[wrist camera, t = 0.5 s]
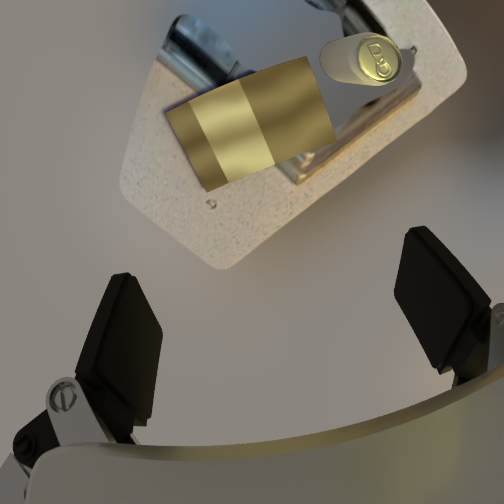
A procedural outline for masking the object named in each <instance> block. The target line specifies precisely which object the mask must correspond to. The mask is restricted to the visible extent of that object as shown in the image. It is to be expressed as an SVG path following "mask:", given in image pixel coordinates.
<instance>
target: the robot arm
mask: <svg viewBox="0 0 504 504" xmlns="http://www.w3.org/2000/svg"><path fill="white" fill-rule="evenodd" d="M394 296H395V299H396V301H397V302H398V304H399V306H400V308H401V309H402V311H403V313H404V315H405V316H406V318H407V320H408V322H409V323H410V325H411V327H412V329H413V330H414V333H415V334H416V336H417V338H418V340H419V342H420V344H421V346H422V348H423V349H424V351H425V353H426V355H427V357H428V359H429V361H430V363H431V365H432V367H433V368H437V370H438V373H439V374H440V375H441V374H443V373H445V372H448V371H450V370H452V369H453V371H454V373H455V375H454V380H453V384H452V388H451V390H448V391H446V392H444V393H442V394H439V395H437V396H435V397H432V398H430V399H428V400H425V401H423V402H420V403H418V404H415V405H412V406H409V407H407V408H404V409H401V410H398V411H395V412H392V413H389V414H386V415H384V416H380V417H377V418H374V419H370V420H367V421H363V422H360V423H356V424H353V425H349V426H345V427H341V428H337V429H333V430H328V431H324V432H319V433H315V434H309V435H304V436H299V437H292V438H286V439H279V440H273V441H265V442H256V443H246V444H235V445H218V446H150V445H148V446H147V445H140V443H139V442H138V440H137V439H136V437H135V436H134V434H133V426H146V425H147V419H149V418H150V417H151V414H152V406H153V398H154V390H155V383H156V376H157V369H158V363H159V356H160V350H161V344H162V338H163V333H162V329H161V326H160V325H159V323H158V321H157V319H156V317H155V315H154V313H153V311H152V309H151V307H150V305H149V303H148V301H147V299H146V297H145V295H144V293H143V291H142V289H141V287H140V285H139V283H138V280H137V278H136V277H135V276H131V274H129V273H121V274H114V275H113V276H112V277H111V279H110V281H109V284H108V286H107V288H106V290H105V293H104V295H103V298H102V300H101V302H100V305H99V307H98V309H97V312H96V315H95V317H94V319H93V322H92V325H91V327H90V330H89V332H88V335H87V338H86V340H85V343H84V346H83V349H82V352H81V354H80V357H79V360H78V363H77V366H76V370H75V373H76V376H75V379H74V378H70V377H64V378H61V379H59V380H57V381H56V382H55V383H54V384H52V386H51V387H50V388H49V390H48V393H47V395H46V408H47V409H46V410H45V411H44V412H42V413H41V414H39V415H38V416H37V417H36V418H34V419H33V420H32V421H31V422H29V423H28V424H27V425H26V426H24V427H23V428H22V429H20V431H19V432H18V433H17V434H16V436H15V438H14V441H13V452H14V454H12V453H10V454H9V456H8V457H7V459H6V460H5V462H4V463H3V465H2V466H1V468H0V504H504V303H499V304H496V305H495V306H494V307H493V308H492V309H491V308H490V307H489V305H490V303H491V299H490V298H489V297H488V295H487V294H486V293H485V292H484V290H483V289H482V288H481V287H480V285H479V284H478V283H477V282H476V280H475V279H474V278H473V277H472V276H471V274H469V272H468V271H467V270H466V269H465V267H464V266H463V265H462V264H461V263H460V262H459V261H458V260H457V258H456V257H455V256H454V255H453V254H452V253H451V252H450V251H449V250H448V249H447V248H446V246H445V245H444V244H443V243H442V242H441V241H440V240H439V239H438V238H437V237H436V236H435V235H434V234H433V233H432V232H431V231H430V230H429V229H428V228H427V227H426V226H418V227H413V228H410V229H409V231H408V232H407V233H406V234H405V238H404V245H403V249H402V255H401V260H400V265H399V270H398V274H397V279H396V283H395V288H394Z"/></svg>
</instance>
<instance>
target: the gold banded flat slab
mask: <svg viewBox="0 0 504 504" xmlns="http://www.w3.org/2000/svg"><path fill="white" fill-rule="evenodd" d="M165 114H166V116H167V118H168V120H169V122H170V124H171V126H172V128H173V130H174V131H175V133H176V135H177V137H178V139H179V141H180V143H181V145H182V147H183V149H184V151H185V152H186V154H187V156H188V158H189V160H190V162H191V164H192V166H193V168H194V170H195V171H196V173H197V175H198V177H199V179H200V181H201V183H202V185H203V186H204V188H205V190H206V192H209V191H211V190H214V189H216V188H218V187H221V186H223V185H225V184H227V183H230V182H233V181H235V180H237V179H240V178H242V177H245V176H247V175H249V174H252V173H254V172H257V171H259V170H262V169H264V168H267V167H269V166H272V165H274V164H276V163H279V162H282V161H284V160H287V159H289V158H292V157H295V156H297V155H300V154H303V153H305V152H308V151H311V150H314V149H317V148H319V147H322V146H325V145H328V144H331V143H334V142H337V141H336V138H335V134H334V131H333V128H332V125H331V122H330V119H329V116H328V113H327V110H326V107H325V104H324V101H323V99H322V96H321V93H320V90H319V88H318V85H317V82H316V80H315V78H314V75H313V72H312V70H311V67H310V65H309V62H308V60H307V57H302V58H298V59H295V60H291V61H288V62H285V63H282V64H279V65H276V66H273V67H270V68H267V69H264V70H261V71H259V72H256V73H253V74H250V75H248V76H245V77H243V78H240V79H238V80H235V81H233V82H230V83H228V84H225V85H223V86H221V87H218V88H216V89H214V90H212V91H209V92H207V93H205V94H203V95H201V96H198V97H196V98H194V99H192V100H190V101H188V102H186V103H184V104H182V105H180V106H178V107H176V108H174V109H172V110H170V111H168V112H166V113H165Z"/></svg>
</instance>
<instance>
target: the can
mask: <svg viewBox="0 0 504 504" xmlns="http://www.w3.org/2000/svg"><path fill="white" fill-rule="evenodd" d="M320 64H321V67H322V68H323V71H324V72H325V73H326V74H327V75H328V76H329V77H330V78H332V79H334V80H336V81H339V82H346V83H355V84H364V85H374V86H380V85H384V84H387V83H389V82H392V81H394V80H395V79H396V78H397V77H398V76H399V75H400V73H401V70H402V65H403V61H402V56H401V53H400V51H399V49H398V47H397V46H396V45H395V43H394V42H393V41H391V40H390V39H389V38H387V37H385V36H382V35H378V34H375V33H360V34H356V35H352V36H348V37H345V38H341V39H338V40H334V41H331V42H330V43H328V44H327V45H325V46H324V47H323V49H322V51H321V53H320Z"/></svg>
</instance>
